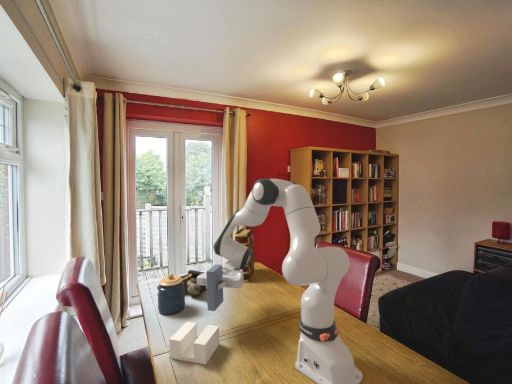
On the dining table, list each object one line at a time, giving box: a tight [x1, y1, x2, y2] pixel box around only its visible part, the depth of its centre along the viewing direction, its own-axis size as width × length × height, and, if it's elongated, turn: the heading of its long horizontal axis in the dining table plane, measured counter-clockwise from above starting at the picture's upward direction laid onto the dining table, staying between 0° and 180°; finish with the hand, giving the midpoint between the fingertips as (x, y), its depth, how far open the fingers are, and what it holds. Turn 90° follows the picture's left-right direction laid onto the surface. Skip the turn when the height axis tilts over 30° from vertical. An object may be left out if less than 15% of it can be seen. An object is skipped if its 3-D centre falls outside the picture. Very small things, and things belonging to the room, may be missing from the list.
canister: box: [156, 273, 186, 316], centre depth 133 cm, size 13×13×18 cm
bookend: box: [179, 269, 207, 298], centre depth 151 cm, size 15×11×25 cm
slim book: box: [205, 264, 224, 312], centre depth 112 cm, size 3×9×16 cm, turn 164°
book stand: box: [169, 321, 221, 366], centre depth 100 cm, size 14×12×7 cm
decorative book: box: [233, 227, 255, 284], centre depth 175 cm, size 22×8×30 cm, turn 168°
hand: (212, 287), depth 110 cm, fingers closed on slim book, 3 cm apart
